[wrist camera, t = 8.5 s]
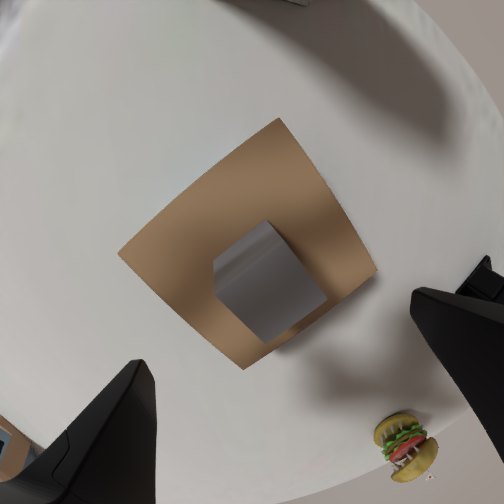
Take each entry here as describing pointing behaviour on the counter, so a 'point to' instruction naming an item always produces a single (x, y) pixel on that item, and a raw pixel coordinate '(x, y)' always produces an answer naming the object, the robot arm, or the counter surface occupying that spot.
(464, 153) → the counter surface
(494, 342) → the robot arm
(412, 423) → the hamburger
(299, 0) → the coffee box
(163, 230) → the lid
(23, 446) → the blue squat cylinder
